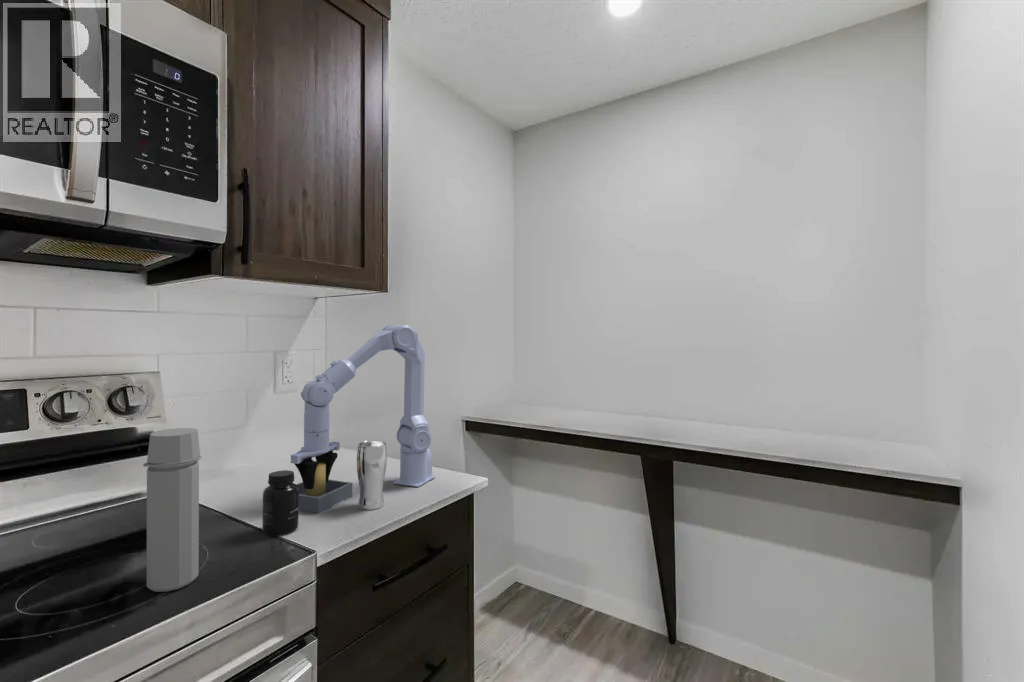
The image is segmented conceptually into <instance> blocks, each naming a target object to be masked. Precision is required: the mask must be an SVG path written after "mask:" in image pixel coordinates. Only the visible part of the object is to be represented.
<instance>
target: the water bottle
mask: <svg viewBox="0 0 1024 682" xmlns="http://www.w3.org/2000/svg"><path fill="white" fill-rule="evenodd" d="M202 458H203V456H202V455H201V449H200V440H199V430H198V429H197V428H193V427H180V428H179V427H178V428H168V429H167V428H166V429H161V430H157V431H153V432H151V433H150V434H149V442H148V449H147V457H146V462H144V463H143V464H142V466H143V467H145V468H147V469H146V588H147V589H149V590H150V591H152V592H154V593H155V592H158V593H159V592H160V593H162V592H164V593H166V592H172V591H175V590H179V589H181V588H185V587H186V586H188V585H190V584H191V583H192V582H193V581H195V580H196V579H197V578H198V576H199V572H200V571H199V570H200V569H199V566H200V565H199V561H200V558H199V554H200V553H199V551H200V550H199V547H200V545H199V544H200V543H199V541H200V540H199V538H200V537H199V536H200V535H199V534H200V533H199V532H200V531H199V530H200V529H199V527H200V526H199V525H200V522H199V521H200V516H199V515H200V505H199V504H200V502H199V501H200V482H199V481H200V460H201V459H202Z"/></svg>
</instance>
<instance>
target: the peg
mask: <svg viewBox="0 0 1024 682" xmlns="http://www.w3.org/2000/svg"><path fill="white" fill-rule="evenodd" d="M325 493H326V464H325V463H320V462H319V463H318V465H317V468H316V472H315V480H314V488H313V489H311V490H310V489H306V495H308V496H320V495H323V494H325Z"/></svg>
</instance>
